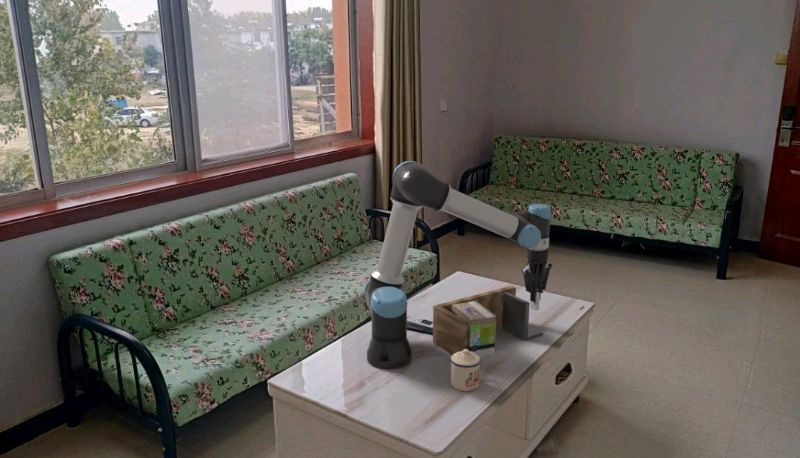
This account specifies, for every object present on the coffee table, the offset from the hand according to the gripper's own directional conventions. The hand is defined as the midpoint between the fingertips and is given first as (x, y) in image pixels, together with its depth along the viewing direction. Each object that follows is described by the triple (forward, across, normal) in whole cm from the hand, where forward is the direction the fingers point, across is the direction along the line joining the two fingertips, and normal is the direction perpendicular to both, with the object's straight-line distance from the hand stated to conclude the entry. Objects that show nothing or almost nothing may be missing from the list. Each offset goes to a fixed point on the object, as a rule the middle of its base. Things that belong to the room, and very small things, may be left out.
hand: (534, 308), depth 232 cm
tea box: (+8, -30, -1) cm, 31 cm away
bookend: (+8, -6, 0) cm, 9 cm away
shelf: (+8, -20, +2) cm, 22 cm away
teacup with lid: (+8, -45, -18) cm, 49 cm away
